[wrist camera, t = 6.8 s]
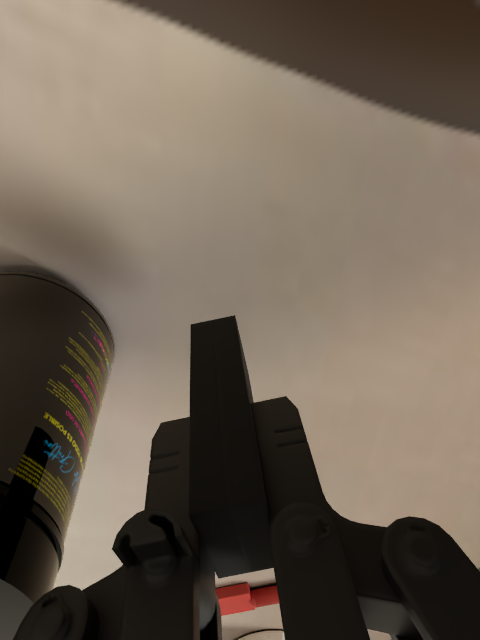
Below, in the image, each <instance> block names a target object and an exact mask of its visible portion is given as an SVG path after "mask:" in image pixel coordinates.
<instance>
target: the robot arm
mask: <svg viewBox="0 0 480 640" xmlns="http://www.w3.org/2000/svg"><path fill="white" fill-rule="evenodd" d="M150 457H151V460H150V465H149V475H148V483H147V492H146V501H145V510H144V511H141V512H139V513H137V514H136V515H134V516H133V517H132V518H130V519H129V520H128V521H127V522H126V523H125V524H124V525H123V527H122V528H121V530H120V531H119V532H118V534H117V536H116V539H115V542H114V545H113V548H112V550H113V551H114V552H115V554H116V555H117V556H118V558H119V559H120V560H121V562H122V563H123V565H122V566H121V567H120V568H119V569H118V570H116V571H115V572H113V573H112V574H110V575H108V576H107V577H105V578H103V579H101V580H100V581H98V582H96V583H94V584H93V585H91V586H89V587H87V588H86V589H84V590H82V591H81V590H80V589H78V588H76V587H73V586H71V585H67V586H60V587H56V588H54V589H52V590H51V591H49V592H47V593H45V594H44V595H42V596H41V597H40V598H39V599H38V600H37V601H36V602H35V603H34V604H33V605H32V606H31V607H30V609H29V611H28V612H27V614H26V615H25V617H24V618H23V620H22V622H21V623H20V625H19V628H18V630H17V632H16V634H15V636H14V638H13V640H222V625H221V609H220V604H219V600H218V597H217V595H216V592H215V572H216V574H217V576H218V578H223V577H228V576H233V575H238V574H243V573H249V572H254V571H259V570H264V569H269V568H274V572H275V578H276V585H277V591H278V598H279V604H280V610H281V617H282V623H283V630H284V636H285V640H370V637H369V634H368V631H367V629H371V630H375V631H380V632H384V633H389V634H390V636H391V638H392V640H480V572H479V570H478V569H477V568H476V567H475V565H474V564H473V563H472V562H471V560H470V559H469V558H468V557H467V556H466V554H465V553H464V552H463V551H462V549H461V548H460V547H459V546H458V545H457V543H456V542H455V541H454V540H453V538H452V537H451V536H450V535H449V534H447V533H446V532H445V531H444V530H443V529H442V528H441V527H440V526H439V525H437V524H435V523H432V522H430V521H428V520H426V519H424V518H417V517H410V516H409V517H405V518H401V519H397V520H396V521H394V522H393V523H392V524H391V525H389V526H388V527H381V526H374V525H367V524H361V523H357V522H353V521H350V520H348V519H346V518H344V517H342V516H340V515H339V514H338V513H337V512H336V511H334V510H333V509H332V508H331V506H330V505H329V504H328V502H327V501H326V499H325V496H324V494H323V492H322V488H321V485H320V482H319V478H318V475H317V472H316V468H315V465H314V462H313V458H312V455H311V452H310V448H309V445H308V442H307V438H306V435H305V432H304V428H303V425H302V422H301V418H300V415H299V411H298V409H297V407H296V406H295V405H294V404H293V403H292V402H291V401H290V400H289V399H288V398H287V397H286V396H285V397H280V398H275V399H270V400H265V401H261V402H256V403H253V397H252V391H251V386H250V380H249V375H248V370H247V366H246V361H245V357H244V353H243V348H242V344H241V339H240V335H239V331H238V326H237V322H236V318H235V315H234V316H230V317H225V318H220V319H215V320H210V321H206V322H201V323H196V324H191V353H190V417H187V418H182V419H178V420H173V421H168V422H163V423H161V424H160V426H159V428H158V430H157V432H156V433H155V435H154V437H153V439H152V446H151V456H150Z"/></svg>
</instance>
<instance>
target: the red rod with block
mask: <svg viewBox="0 0 480 640" xmlns="http://www.w3.org/2000/svg"><path fill="white" fill-rule="evenodd" d="M215 592H216V595H217V597H218V600H219V604H220V609H221V616H223V615H228V614H233V613H239V612H244V611H249V610H254V609H255V607H261V606H267V605H272V604H277V603H279V598H278V591H277V585H275V586H270V587H264V588H259V589H254V590H252V591H251V590H250V587H249V585H248V583H243V584H238V585H233V586H227V587H222V588H217V589H215Z"/></svg>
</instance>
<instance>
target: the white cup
mask: <svg viewBox="0 0 480 640" xmlns="http://www.w3.org/2000/svg"><path fill="white" fill-rule="evenodd" d="M238 640H285V636H284V631H262V632H257V633H253V634H249V635H247V636H244V637H242V638H239V639H238Z"/></svg>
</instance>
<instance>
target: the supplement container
mask: <svg viewBox="0 0 480 640" xmlns="http://www.w3.org/2000/svg"><path fill="white" fill-rule="evenodd" d="M114 354H115V347H114V340H113V336H112V333H111V330H110V328H109V326H108V323H107V321H106V320H105V318H104V316H103V315H102V313H101V312H100V311H99V309H98V308H97V307H96V306H95V305H94V304H93V303H92V302H91V301H90V300H89V299H88V298H87V297H85V296H84V295H83V294H81V293H80V292H79V291H77V290H76V289H74V288H72V287H71V286H69V285H67V284H65V283H63V282H60V281H58V280H56V279H53V278H50V277H47V276H43V275H39V274H35V273H29V272H0V640H13V638H14V636H15V634H16V632H17V630H18V628H19V625H20V623H21V622H22V620H23V618H24V617H25V615H26V614H27V612H28V611H29V609H30V607H31V606H32V605H33V604H34V603H35V602H36V601H37V600H38V599H39V598H40V597H41V596H42V595H44V594H45V593H47V592H49V591H51V590H52V589H53V588H54V584H55V580H56V577H57V573H58V571H59V569H60V566H61V563H62V559H63V554H64V542H65V539H66V535H67V531H68V527H69V524H70V520H71V516H72V513H73V509H74V505H75V502H76V498H77V494H78V490H79V487H80V483H81V479H82V476H83V472H84V468H85V465H86V461H87V457H88V454H89V450H90V446H91V442H92V439H93V435H94V431H95V428H96V424H97V420H98V417H99V413H100V409H101V405H102V402H103V398H104V394H105V391H106V387H107V383H108V380H109V376H110V372H111V369H112V365H113V361H114Z"/></svg>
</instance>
